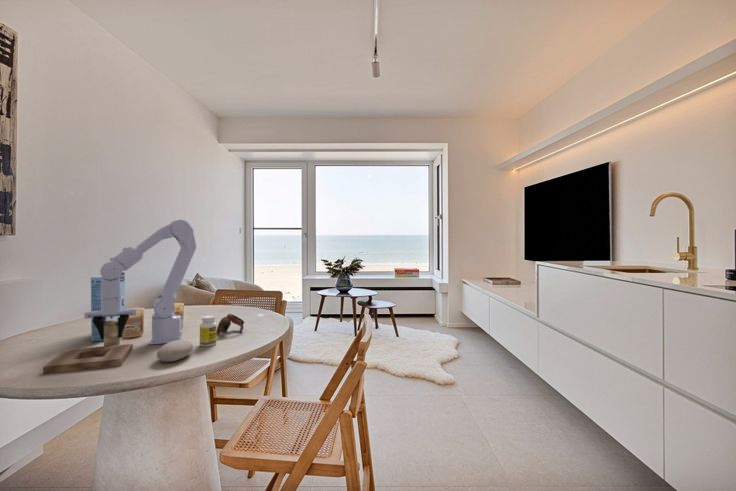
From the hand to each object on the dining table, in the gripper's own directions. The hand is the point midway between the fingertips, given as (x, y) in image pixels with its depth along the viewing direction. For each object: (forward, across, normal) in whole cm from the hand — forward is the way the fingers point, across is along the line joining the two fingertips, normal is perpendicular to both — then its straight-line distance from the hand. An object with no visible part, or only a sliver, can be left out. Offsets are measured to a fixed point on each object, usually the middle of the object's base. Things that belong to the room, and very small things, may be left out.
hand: (111, 337), depth 123 cm
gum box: (+4, +5, -20) cm, 21 cm away
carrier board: (+3, +2, +13) cm, 14 cm away
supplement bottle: (+4, -30, +7) cm, 31 cm away
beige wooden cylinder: (+2, 0, 0) cm, 2 cm away
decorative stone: (+4, -21, +19) cm, 29 cm away
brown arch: (+4, -37, -7) cm, 38 cm away
